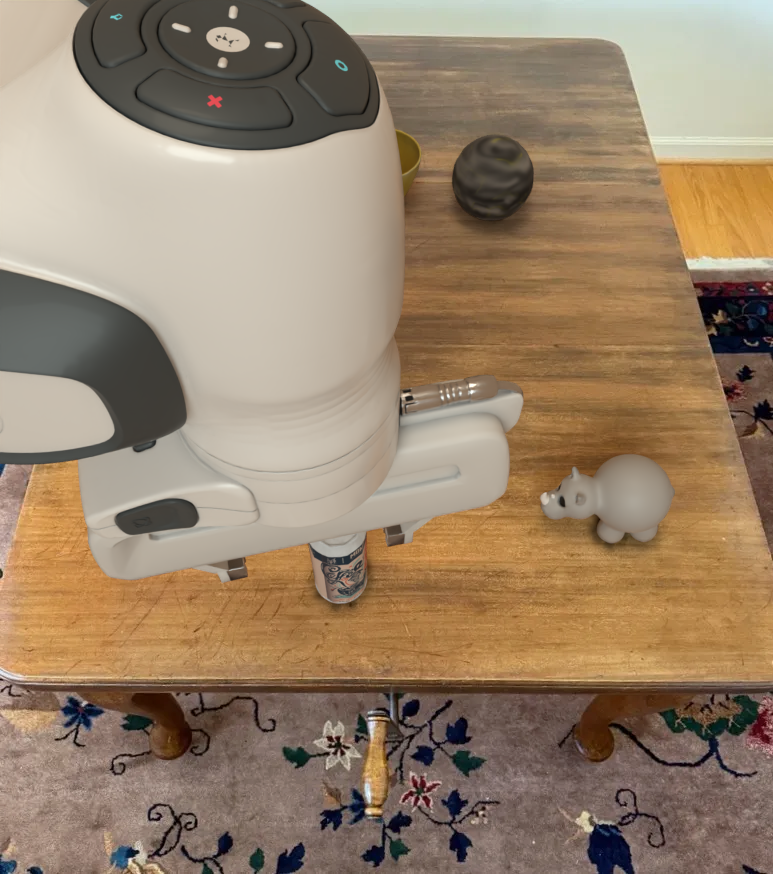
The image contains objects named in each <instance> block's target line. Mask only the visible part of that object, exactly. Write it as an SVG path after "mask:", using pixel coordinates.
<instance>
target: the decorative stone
mask: <svg viewBox="0 0 773 874" xmlns="http://www.w3.org/2000/svg"><path fill="white" fill-rule="evenodd" d="M534 169H535V168H534V165H533V161H532V159H531V157H530V154H529V152H528V151H527V150H526V149H525V147H524V146H522V144H521V143H520V142H519V141H517V140H515V139H513V138H512V137H510V136H507V135H504V134H495V133H494V134H487V135H484V136H480V137H477V138H475V139H474V140H473V141H471V142H470V143H468V144H467V145H466V146H465V147H464V148H463V149H462V151H461V152H460V153H459V155H458V157H457V158H456V160H455V161H454V164H453V169H452V175H451V187H452V190H453V193H454V196H455V200H456V201H457V203H458V204H459V206H460V207H461V208H462V209H463V210H464V211H465V212H466V213H467V214H469V215H470V216H472V217H473V218H476V219H479V220H482V221H489V222H490V221H491V222H492V221H493V222H495V221H501V220H503V219H506V218H509V217H512V216H513V215H514V214H515V213H516V212H518V211H519V210H521V208H523V207H524V206H525V204H526V202H527V200H528V199H529V197H530V195H531V193H532V190H533V187H534V181H535V180H534V179H535V178H534V177H535V171H534Z"/></svg>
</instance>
